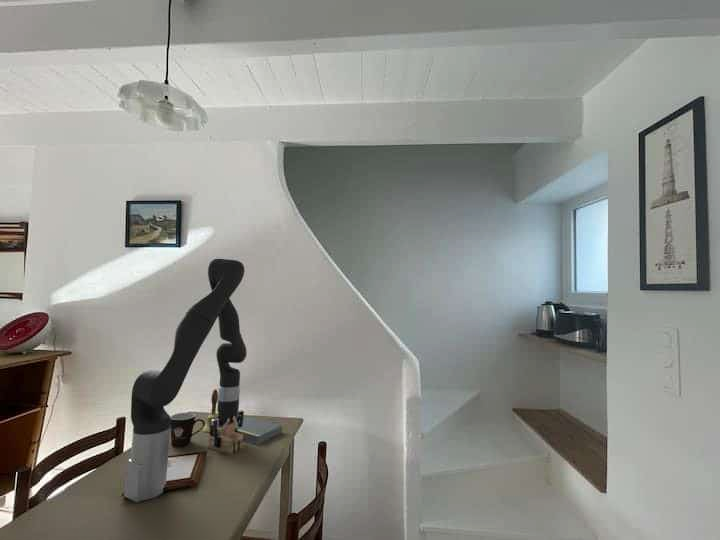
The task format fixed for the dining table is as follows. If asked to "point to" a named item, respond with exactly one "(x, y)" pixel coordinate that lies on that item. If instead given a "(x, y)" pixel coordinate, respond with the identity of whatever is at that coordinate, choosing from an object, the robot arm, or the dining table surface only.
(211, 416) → the hand bell
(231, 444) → the tan boxy piece
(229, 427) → the block
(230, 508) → the dining table surface
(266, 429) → the dock
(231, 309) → the robot arm
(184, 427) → the coffee mug
